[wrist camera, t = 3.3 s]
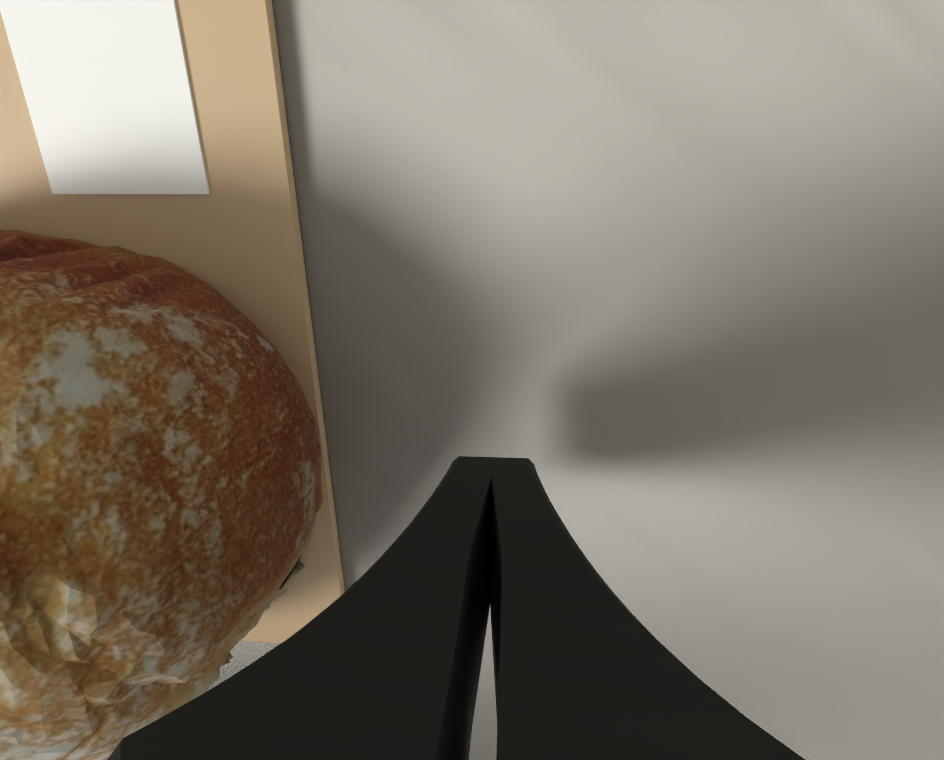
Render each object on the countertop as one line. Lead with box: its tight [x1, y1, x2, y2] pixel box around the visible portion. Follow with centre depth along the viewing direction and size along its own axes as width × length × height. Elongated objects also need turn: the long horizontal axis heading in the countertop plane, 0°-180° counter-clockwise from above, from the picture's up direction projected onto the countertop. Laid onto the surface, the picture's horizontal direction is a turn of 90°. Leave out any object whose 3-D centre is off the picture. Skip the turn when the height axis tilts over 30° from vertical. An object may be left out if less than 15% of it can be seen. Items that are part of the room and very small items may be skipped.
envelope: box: [0, 0, 345, 643], centre depth 12 cm, size 16×10×1 cm, turn 0°
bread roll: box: [0, 230, 323, 760], centre depth 11 cm, size 10×10×8 cm
